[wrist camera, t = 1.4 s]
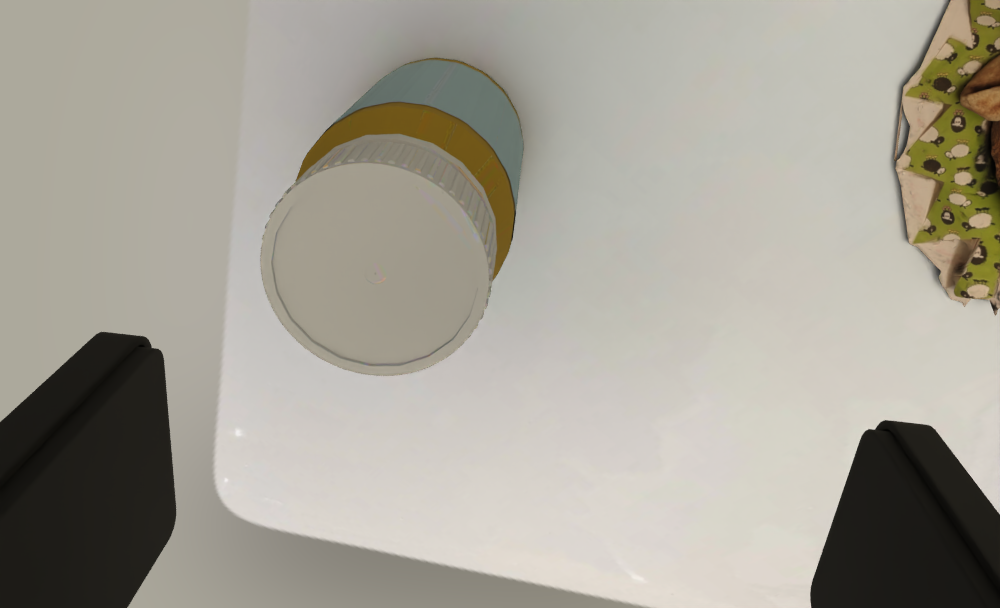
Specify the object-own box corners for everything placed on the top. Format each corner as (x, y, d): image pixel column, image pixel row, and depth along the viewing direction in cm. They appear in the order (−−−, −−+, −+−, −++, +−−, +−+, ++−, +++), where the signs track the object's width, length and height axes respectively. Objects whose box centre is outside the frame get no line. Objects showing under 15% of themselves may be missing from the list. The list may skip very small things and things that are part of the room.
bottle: (513, 227, 37) (492, 404, 23) (357, 207, 37) (245, 374, 23) (533, 66, 34) (522, 162, 20) (363, 46, 34) (239, 128, 20)
